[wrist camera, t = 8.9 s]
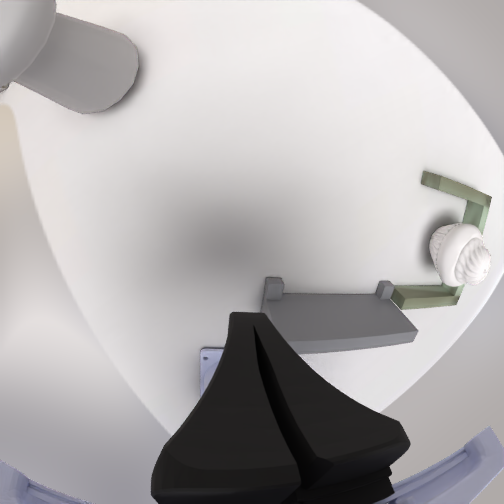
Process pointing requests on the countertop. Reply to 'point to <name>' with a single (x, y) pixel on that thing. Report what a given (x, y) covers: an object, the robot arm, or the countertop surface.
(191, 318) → the countertop surface
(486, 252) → the muffin
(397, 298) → the bay
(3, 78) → the salt shaker
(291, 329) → the screen
